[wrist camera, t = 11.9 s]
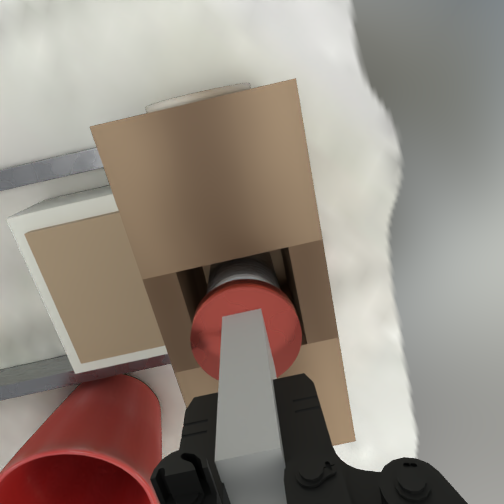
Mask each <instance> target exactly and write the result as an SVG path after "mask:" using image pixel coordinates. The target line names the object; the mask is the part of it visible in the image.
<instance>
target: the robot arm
mask: <svg viewBox="0 0 504 504" xmlns="http://www.w3.org/2000/svg"><path fill="white" fill-rule="evenodd" d="M183 425H184V427H183V430H182V438H181V442H180V449H179V450H178V451H175V452H173V453H171V454H169V455H168V456H166V457H165V458H164V459H162V460H161V461H160V463H159V464H158V465H157V466H156V467H155V468H154V470H153V473H152V475H151V478H150V481H151V483H152V485H153V488H154V490H155V493H156V495H157V497H158V500H159V502H160V504H468V503H467V502H466V501H465V500H464V499H463V498H462V497H461V496H460V495H459V494H458V492H457V491H456V490H455V489H454V488H453V487H452V486H451V485H450V483H449V482H448V481H447V480H446V479H445V478H444V477H443V476H442V475H441V474H440V472H439V471H437V470H436V469H435V468H434V467H433V466H431V465H430V464H429V463H426V462H424V461H421V460H419V459H416V458H405V457H404V458H400V459H396V460H392V461H391V462H390V463H388V464H387V465H385V466H384V468H383V470H382V472H373V471H365V470H360V469H356V468H354V467H351V466H349V465H347V464H346V463H345V462H343V461H342V460H341V459H340V458H339V457H338V456H337V454H336V453H335V451H334V448H333V446H332V442H331V439H330V435H329V432H328V429H327V425H326V422H325V419H324V415H323V412H322V409H321V405H320V402H319V398H318V395H317V392H316V388H315V385H314V382H313V381H312V380H311V379H310V378H309V377H308V376H307V375H306V374H305V373H302V374H297V375H292V376H287V377H283V378H278V379H277V377H276V371H275V365H274V361H273V357H272V353H271V348H270V344H269V340H268V336H267V332H266V327H265V323H264V319H263V315H262V310H261V308H260V309H256V310H251V311H247V312H242V313H237V314H233V315H228V316H224V317H222V331H221V350H220V369H219V388H218V392H217V393H212V394H207V395H203V396H198V397H194V398H193V400H192V401H191V403H190V404H189V406H188V407H187V409H186V411H185V417H184V424H183Z"/></svg>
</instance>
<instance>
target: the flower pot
mask: <svg viewBox="0 0 504 504" xmlns="http://www.w3.org/2000/svg"><path fill="white" fill-rule="evenodd" d="M161 460H162V436H161V409H160V405H159V401H158V399H157V397H156V396H155V394H154V393H153V392H152V391H151V389H150V388H149V387H148V386H147V385H145V384H144V383H143V382H141V381H140V380H138V379H136V378H134V377H131V376H128V375H124V374H120V375H115V376H111V377H106V378H102V379H97V380H92V381H88V382H83V383H81V384H80V385H79V386H78V387H77V388H76V389H75V390H74V391H73V392H72V393H71V394H70V395H69V396H68V397H67V398H66V400H65V401H64V402H63V403H62V404H61V405H60V406H59V407H58V408H57V409H56V410H55V411H54V412H53V413H52V415H51V416H50V417H49V418H48V419H47V420H46V421H45V422H44V423H43V424H42V425H41V427H40V428H39V429H38V430H37V431H36V432H35V433H34V434H33V435H32V436H31V438H30V439H29V440H28V441H27V442H26V443H25V444H24V445H23V446H22V448H21V449H20V450H19V451H18V452H17V453H16V454H15V456H14V457H13V458H12V459H11V460H10V461H9V462H8V464H7V465H6V466H5V467H4V468H3V470H2V471H1V472H0V504H160V502H159V500H158V497H157V495H156V493H155V490H154V488H153V485H152V483H151V481H150V478H151V475H152V473H153V470H154V468H155V467H156V466H157V465H158V464H159V463H160V461H161Z"/></svg>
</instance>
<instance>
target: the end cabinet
mask: <svg viewBox="0 0 504 504" xmlns="http://www.w3.org/2000/svg"><path fill="white" fill-rule="evenodd" d="M145 109H146V112H147V113H146V114H142V115H138V116H133V117H129V118H125V119H120V120H116V121H112V122H108V123H103V124H99V125H95V126H91V127H90V129H91V132H92V135H93V138H94V141H95V144H96V147H97V150H98V153H99V155H100V158H101V161H102V164H103V167H104V170H105V173H106V176H107V179H108V182H109V184H110V187H111V190H112V193H113V196H114V199H115V202H116V205H117V208H118V211H119V213H120V216H121V219H122V222H123V225H124V228H125V231H126V234H127V237H128V240H129V242H130V245H131V248H132V251H133V254H134V257H135V260H136V263H137V266H138V269H139V271H140V274H141V277H142V280H143V283H144V286H145V289H146V292H147V295H148V298H149V300H150V303H151V306H152V309H153V312H154V315H155V318H156V321H157V324H158V327H159V329H160V332H161V335H162V338H163V341H164V344H165V347H166V350H167V353H168V356H169V358H170V361H171V364H172V367H173V370H174V373H175V376H176V379H177V382H178V384H179V387H180V390H181V393H182V396H183V399H184V402H185V405H186V408H187V407H188V406H189V404H190V403H191V401H192V400H193V398H194V397H198V396H203V395H207V394H212V393H217V392H218V388H219V381H218V380H216V379H215V378H213V377H211V376H210V375H209V374H207V373H206V372H205V371H204V370H203V369H202V368H201V367H200V365H199V364H198V363H197V361H196V359H195V358H194V355H193V353H192V349H191V342H190V336H191V329H192V323H193V318H194V314H195V311H196V309H197V307H198V305H199V303H200V302H201V300H202V299H203V298H204V297H205V296H206V294H207V287H208V279H209V272H210V265H211V264H215V263H219V262H224V261H228V260H233V259H237V258H242V257H246V256H251V255H255V254H259V253H264V252H268V251H269V253H270V255H271V258H272V262H273V266H274V269H275V273H276V277H277V280H278V284H279V288H280V290H281V291H282V292H284V293H285V294H286V295H287V297H288V298H289V299H290V300H291V302H292V304H293V305H294V308H295V310H296V313H297V316H298V319H299V322H300V326H301V331H302V343H301V348H300V351H299V354H298V356H297V358H296V359H295V361H294V362H293V364H292V365H291V366H290V367H289V369H288V370H286V371H285V372H284V373H283V374H282V375H280V376H279V377H277V379H278V378H283V377H287V376H292V375H297V374H302V373H305V374H306V375H307V376H308V377H309V378H310V379H311V380H312V381H313V382H314V385H315V388H316V392H317V395H318V398H319V402H320V405H321V409H322V412H323V415H324V419H325V422H326V425H327V429H328V432H329V435H330V439H331V442H332V446H334V445H339V444H344V443H349V442H354V441H356V440H355V434H354V428H353V422H352V416H351V410H350V404H349V398H348V391H347V385H346V379H345V373H344V367H343V361H342V355H341V349H340V343H339V337H338V331H337V325H336V319H335V313H334V307H333V301H332V295H331V288H330V282H329V276H328V270H327V264H326V258H325V252H324V246H323V240H322V234H321V228H320V222H319V216H318V210H317V204H316V198H315V191H314V185H313V179H312V173H311V167H310V161H309V155H308V149H307V143H306V137H305V131H304V125H303V119H302V113H301V107H300V101H299V95H298V88H297V82H296V78H295V79H291V80H287V81H283V82H278V83H274V84H270V85H266V86H261V87H257V88H253V89H251V87H250V83H242V84H235V85H230V86H224V87H219V88H214V89H210V90H205V91H201V92H196V93H192V94H188V95H184V96H180V97H176V98H172V99H168V100H164V101H161V102H158V103H154V104H151V105H148V106H146V107H145Z"/></svg>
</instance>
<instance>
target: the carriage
mask: <svg viewBox="0 0 504 504" xmlns="http://www.w3.org/2000/svg"><path fill="white" fill-rule="evenodd" d="M6 221H7V223H8V226H9V228H10V230H11V232H12V234H13V237H14V239H15V241H16V243H17V246H18V248H19V250H20V252H21V254H22V257H23V259H24V261H25V263H26V266H27V268H28V270H29V272H30V274H31V277H32V279H33V281H34V283H35V285H36V288H37V290H38V292H39V294H40V297H41V299H42V301H43V303H44V305H45V308H46V310H47V312H48V314H49V317H50V319H51V321H52V323H53V325H54V328H55V330H56V332H57V334H58V337H59V339H60V341H61V343H62V345H63V348H64V350H65V352H66V354H67V357H68V359H69V361H70V363H71V365H72V368H73V370H74V372H75V374H77V373H81V372H86V371H91V370H95V369H100V368H104V367H109V366H114V365H118V364H123V363H128V362H132V361H137V360H141V359H146V358H151V357H155V356H160V355H164V354H168V353H167V350H166V347H165V344H164V341H163V338H162V335H161V332H160V329H159V327H158V324H157V321H156V318H155V315H154V312H153V309H152V306H151V303H150V300H149V298H148V295H147V292H146V289H145V286H144V283H143V280H142V277H141V274H140V271H139V269H138V266H137V263H136V260H135V257H134V254H133V251H132V248H131V245H130V242H129V240H128V237H127V234H126V231H125V228H124V225H123V222H122V219H121V216H120V213H119V211H118V208H117V205H116V202H115V199H114V196H113V193H112V190H111V187H110V185H109V186H105V187H100V188H96V189H91V190H87V191H83V192H78V193H74V194H70V195H65V196H61V197H57V198H52V199H48V200H44V201H42V202H40V203H38V204H36V205H33V206H31V207H29V208H27V209H25V210H23V211H21V212H19V213H17V214H14V215H12V216H10V217H8V218H6Z"/></svg>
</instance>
